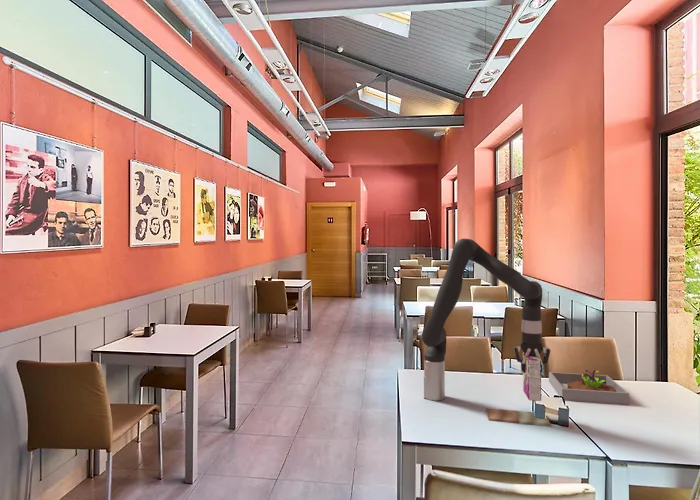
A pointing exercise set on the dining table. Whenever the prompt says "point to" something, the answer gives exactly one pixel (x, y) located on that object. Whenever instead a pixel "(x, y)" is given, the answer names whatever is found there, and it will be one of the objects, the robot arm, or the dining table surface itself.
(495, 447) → the dining table surface
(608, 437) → the dining table surface
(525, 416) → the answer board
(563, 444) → the dining table surface
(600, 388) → the plant
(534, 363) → the candy bar box
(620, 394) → the planter frame
